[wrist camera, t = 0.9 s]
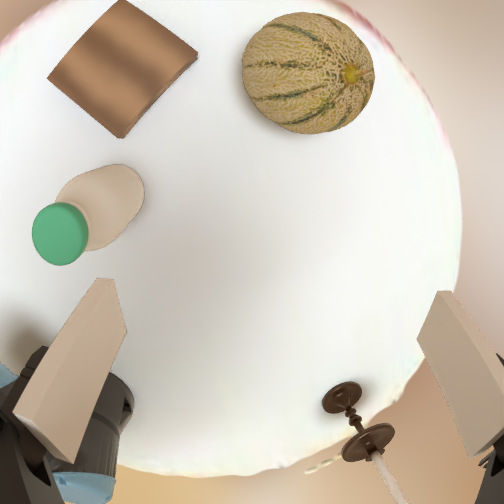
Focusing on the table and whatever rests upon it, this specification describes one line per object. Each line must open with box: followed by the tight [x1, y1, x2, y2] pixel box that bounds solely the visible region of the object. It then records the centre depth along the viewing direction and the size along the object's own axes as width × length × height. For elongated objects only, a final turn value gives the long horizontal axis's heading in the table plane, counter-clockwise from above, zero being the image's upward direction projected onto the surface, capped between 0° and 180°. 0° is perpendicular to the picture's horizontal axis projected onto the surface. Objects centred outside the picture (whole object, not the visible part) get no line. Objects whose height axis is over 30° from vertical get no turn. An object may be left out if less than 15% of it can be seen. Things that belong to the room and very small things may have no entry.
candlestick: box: [322, 382, 410, 504], centre depth 42 cm, size 11×11×35 cm
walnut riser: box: [47, 0, 198, 138], centre depth 30 cm, size 14×14×3 cm
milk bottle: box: [32, 164, 144, 266], centre depth 28 cm, size 8×8×20 cm
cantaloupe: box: [242, 12, 375, 134], centre depth 29 cm, size 15×15×15 cm
